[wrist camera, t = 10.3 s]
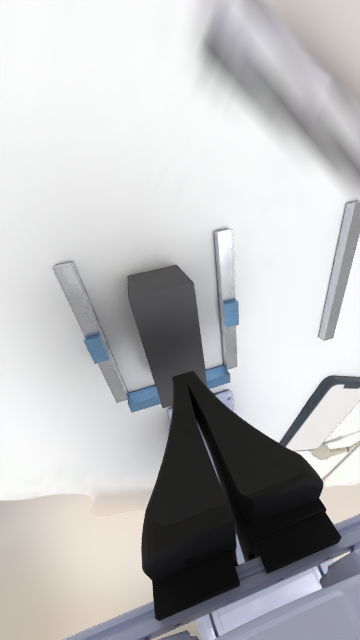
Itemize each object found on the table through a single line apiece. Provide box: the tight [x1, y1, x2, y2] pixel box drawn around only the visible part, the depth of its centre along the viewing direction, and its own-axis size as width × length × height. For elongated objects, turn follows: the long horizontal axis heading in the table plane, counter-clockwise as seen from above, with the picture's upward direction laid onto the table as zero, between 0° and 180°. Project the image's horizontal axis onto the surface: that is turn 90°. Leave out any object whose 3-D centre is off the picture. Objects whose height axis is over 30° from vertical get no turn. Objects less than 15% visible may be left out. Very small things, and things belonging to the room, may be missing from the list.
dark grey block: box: [128, 265, 207, 408], centre depth 17 cm, size 10×4×5 cm, turn 10°
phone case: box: [279, 376, 360, 452], centre depth 33 cm, size 9×2×16 cm
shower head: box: [310, 441, 360, 460], centre depth 39 cm, size 5×3×20 cm
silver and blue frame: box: [52, 201, 360, 412], centre depth 19 cm, size 15×25×2 cm, turn 100°
